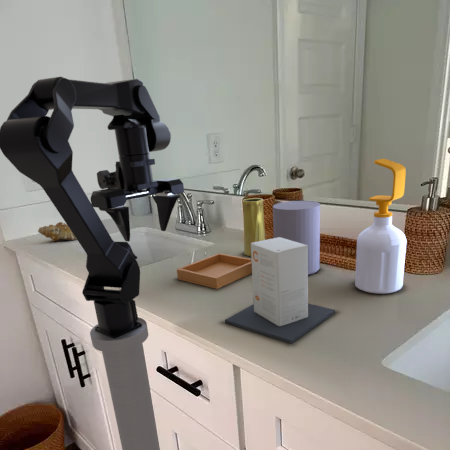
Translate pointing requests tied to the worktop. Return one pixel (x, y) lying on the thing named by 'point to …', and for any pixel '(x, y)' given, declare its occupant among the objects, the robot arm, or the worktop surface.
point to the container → (300, 227)
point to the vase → (253, 223)
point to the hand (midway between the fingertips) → (146, 235)
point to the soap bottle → (382, 242)
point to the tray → (216, 270)
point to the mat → (283, 333)
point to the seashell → (57, 232)
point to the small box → (280, 280)
